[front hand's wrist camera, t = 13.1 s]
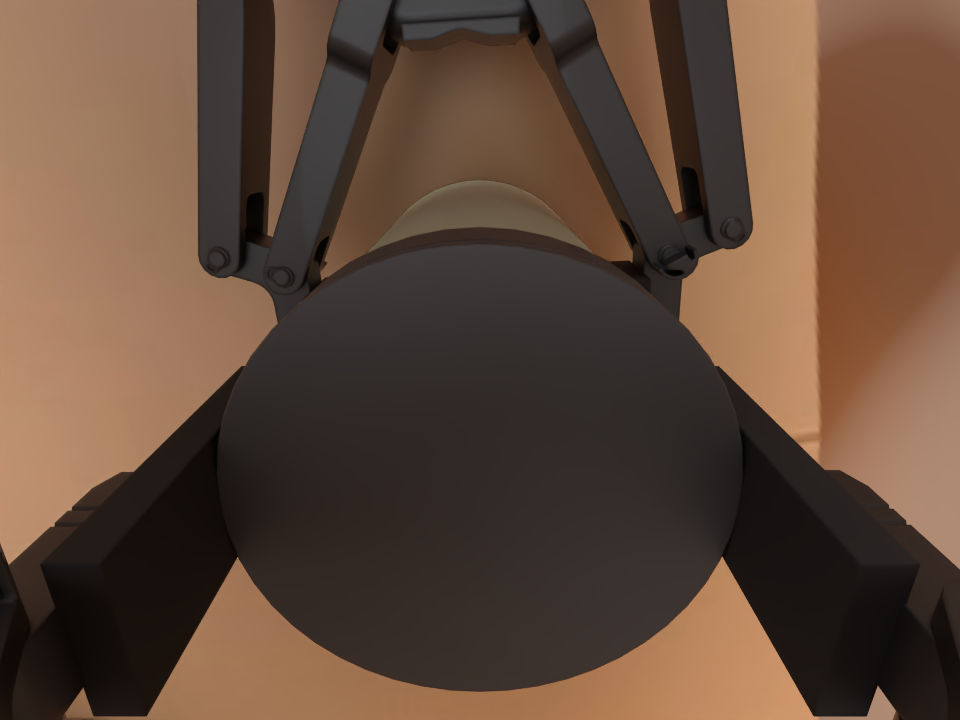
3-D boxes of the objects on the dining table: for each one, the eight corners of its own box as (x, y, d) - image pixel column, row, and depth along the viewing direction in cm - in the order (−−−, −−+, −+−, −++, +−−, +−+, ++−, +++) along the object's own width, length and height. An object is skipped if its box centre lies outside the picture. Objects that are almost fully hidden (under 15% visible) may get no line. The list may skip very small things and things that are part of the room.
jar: (417, 400, 28) (347, 702, 13) (347, 217, 24) (149, 342, 10) (601, 349, 27) (748, 612, 12) (553, 151, 23) (675, 181, 9)
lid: (376, 670, 14) (364, 739, 13) (160, 339, 11) (104, 375, 10) (753, 553, 13) (792, 614, 11) (630, 139, 10) (660, 141, 8)
